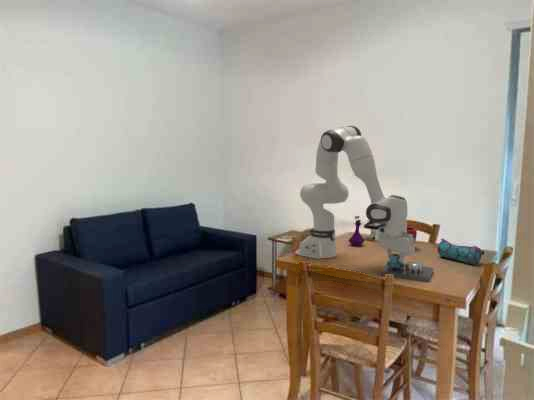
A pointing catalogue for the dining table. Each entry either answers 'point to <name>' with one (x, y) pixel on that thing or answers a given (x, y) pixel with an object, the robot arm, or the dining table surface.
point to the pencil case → (460, 252)
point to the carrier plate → (410, 271)
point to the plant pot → (412, 232)
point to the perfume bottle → (356, 235)
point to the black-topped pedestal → (374, 229)
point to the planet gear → (395, 261)
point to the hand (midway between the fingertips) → (395, 260)
